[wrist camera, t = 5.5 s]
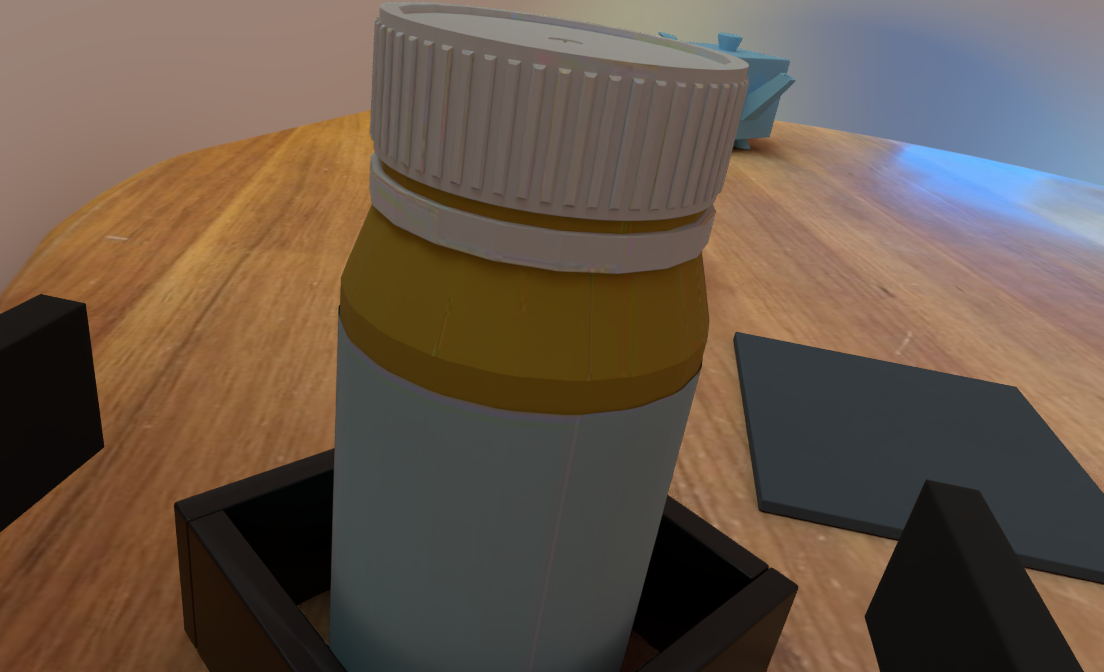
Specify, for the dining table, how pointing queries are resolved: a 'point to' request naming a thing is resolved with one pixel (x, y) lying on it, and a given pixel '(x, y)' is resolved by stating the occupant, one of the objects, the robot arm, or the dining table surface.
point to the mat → (911, 450)
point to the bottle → (519, 335)
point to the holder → (305, 569)
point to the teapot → (754, 87)
